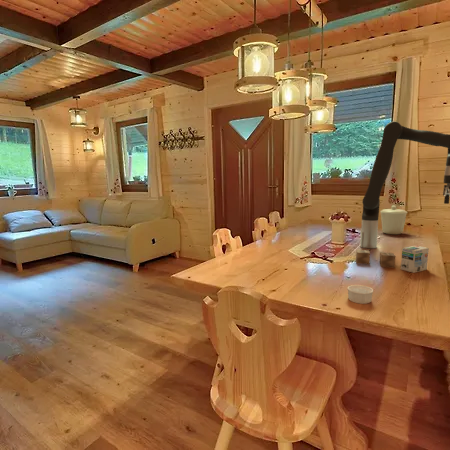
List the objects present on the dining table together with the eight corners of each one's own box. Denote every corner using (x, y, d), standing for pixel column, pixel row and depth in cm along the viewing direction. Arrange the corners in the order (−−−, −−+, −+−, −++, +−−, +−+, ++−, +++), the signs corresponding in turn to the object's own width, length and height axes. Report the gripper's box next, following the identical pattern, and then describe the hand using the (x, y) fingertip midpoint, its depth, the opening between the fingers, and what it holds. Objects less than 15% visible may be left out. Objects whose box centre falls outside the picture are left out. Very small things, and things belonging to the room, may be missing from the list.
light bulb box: (413, 273, 145) (415, 250, 143) (399, 269, 151) (401, 247, 149) (427, 269, 150) (429, 247, 148) (413, 266, 156) (415, 245, 154)
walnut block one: (381, 266, 155) (382, 254, 154) (379, 263, 161) (380, 251, 160) (394, 267, 154) (395, 255, 153) (392, 264, 159) (393, 252, 158)
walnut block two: (356, 263, 162) (357, 252, 161) (355, 260, 167) (356, 249, 166) (369, 264, 160) (370, 252, 159) (368, 261, 165) (368, 249, 164)
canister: (373, 231, 244) (375, 204, 240) (395, 230, 246) (397, 204, 242) (388, 236, 226) (390, 207, 223) (411, 235, 228) (413, 206, 225)
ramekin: (346, 303, 114) (347, 291, 113) (346, 294, 122) (347, 283, 122) (373, 306, 111) (374, 294, 110) (371, 296, 119) (372, 286, 118)
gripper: (439, 174, 176) (436, 203, 178) (449, 174, 162) (446, 205, 165) (455, 174, 174) (452, 203, 176) (466, 174, 160) (463, 206, 163)
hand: (449, 204), depth 171 cm, fingers open, 8 cm apart
